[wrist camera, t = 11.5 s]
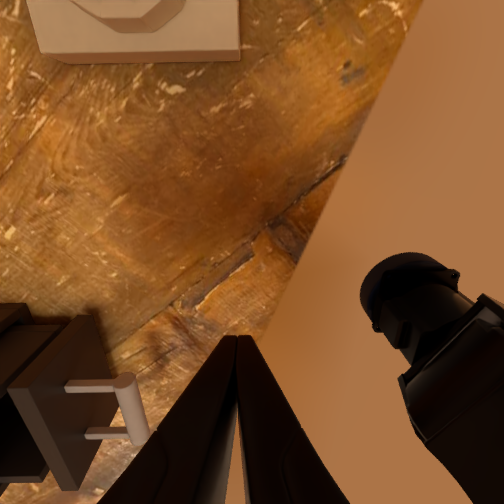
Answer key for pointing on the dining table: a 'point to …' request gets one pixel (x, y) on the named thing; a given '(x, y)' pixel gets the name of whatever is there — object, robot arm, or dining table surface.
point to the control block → (137, 30)
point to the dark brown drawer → (60, 402)
